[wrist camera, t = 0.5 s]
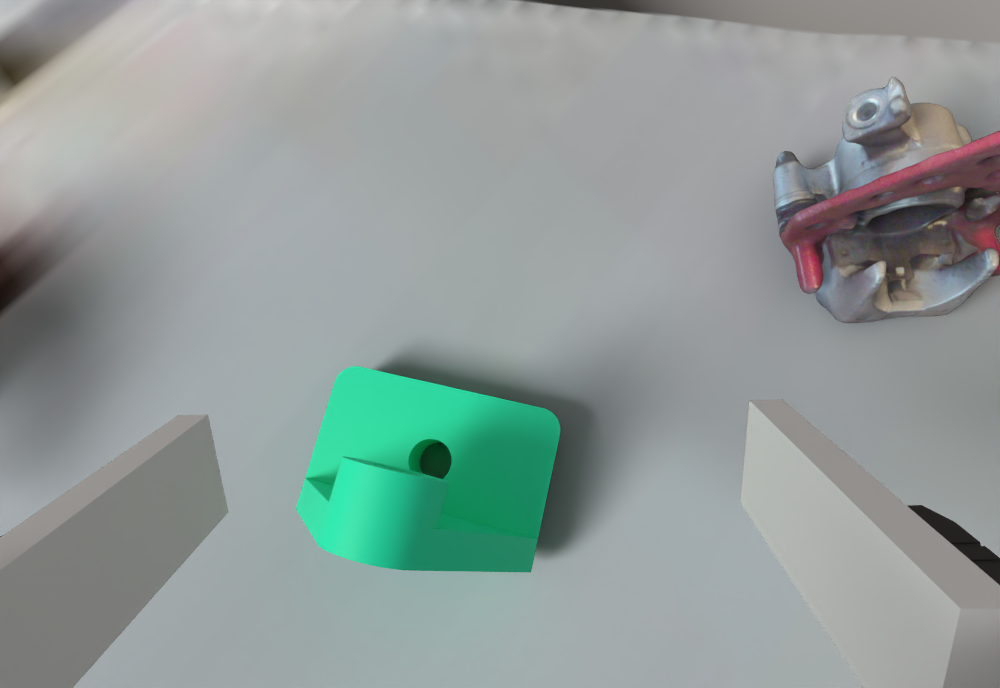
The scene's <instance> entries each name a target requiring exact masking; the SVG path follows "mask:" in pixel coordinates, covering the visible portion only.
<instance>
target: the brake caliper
mask: <svg viewBox="0 0 1000 688" xmlns="http://www.w3.org/2000/svg"><path fill="white" fill-rule="evenodd" d="M842 130H843V138H842V139H841V141H840V142H839V144H838V147H837V149H836V152H835V155H834V157H833V158H832V159H831V160H830V161H828V162H827V163H825V164H823V165H821V166H818V167H815V168H813V169H808V168H805V167H804V166H803V165H801V163H800V162H799V161H798V160H797V158H796V157H795V155H794V154H793V153H792V152H789V151H784V152H782V153H781V154H780V155H779V156H778V158H777V162H776V167H775V170H774V173H773V185H774V195H775V208H776V214H777V219H778V225H779V234H780V237H781V240H782V242H783V244H784V245H785V247H786V248H787V249H788V250H789V252H790V253H791V254H792V256H793V258H794V260H795V263H796V269H797V276H798V281H799V284H800V287H801V289H802V291H803V292H805V293H808V294H810V293H814V292H815V293H816V299H817V301H818V302H819V303H820V304H821V305H822V306H824V307H825V308H826V309H827V310H828V311H829V312H830V313H831V314H832V315H833V316H834V318H835V319H836V320H838V321H841V322H843V323H859V322H872V321H877V320H882V319H887V318H894V317H908V316H910V317H914V316H939V315H946V314H948V313H950V312H952V311H953V310H954V309H956V308H957V307H959V306H960V305H961V304H962V303H963V302H964V301H965V300H966V299H967V298H969V297H970V296H971V295H972V293H973V292H974V291H975V290H976V289H977V288H978V287H979V286H980V285H981V284H983V283H984V282H985V281H986V280H987V279H988V278H989V277H990V276H996V275H1000V244H999V242H998V240H997V237H996V234H995V229H996V227H997V226H999V225H1000V193H998V194H996V192H1000V131H997V132H995V133H992V134H990V135H988V136H986V137H983V138H980V139H978V140H976V141H973V142H972V140H971V138H970V134H969V132H968V130H967V129H966V128H965V127H963V126H961V125H956V123H955V120H954V117H953V115H952V113H951V112H950V111H949V110H948V109H946V108H945V107H943V106H940V105H937V104H932V103H914V104H910V102H909V100H908V98H907V95H906V92H905V88H904V85H903V84H902V83H901V82H900V81H899V80H898V79H897V78H895V77H892V78H891V79H890V80H889V82H888V85H887V86H886V87H884V88H878V89H870V90H867V91H865V92H863V93H861V94H859V95H857V96H855V97H854V98H852V99H851V101H850V102H849V104H848V105H847V108H846V111H845V114H844V119H843V126H842Z"/></svg>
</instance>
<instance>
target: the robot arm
mask: <svg viewBox="0 0 1000 688" xmlns="http://www.w3.org/2000/svg"><path fill="white" fill-rule="evenodd" d="M741 505H742V506H743V508H744V509H745V511H746V512H747V514H748V515H749V517H750V518H751V520H752V521H753V523H754V524H755V526H756V527H757V529H758V530H759V532H760V533H761V535H762V536H763V538H764V539H765V541H766V542H767V544H768V545H769V547H770V548H771V550H772V551H773V553H774V554H775V556H776V557H777V559H778V560H779V562H780V563H781V565H782V566H783V568H784V569H785V571H786V572H787V574H788V575H789V577H790V578H791V580H792V581H793V583H794V584H795V586H796V587H797V589H798V590H799V592H800V593H801V595H802V596H803V598H804V599H805V601H806V602H807V604H808V605H809V607H810V608H811V610H812V611H813V613H814V614H815V616H816V617H817V619H818V620H819V622H820V623H821V625H822V626H823V628H824V629H825V631H826V632H827V634H828V635H829V637H830V638H831V640H832V641H833V643H834V644H835V646H836V647H837V649H838V650H839V652H840V653H841V655H842V656H843V658H844V659H845V661H846V662H847V664H848V665H849V667H850V668H851V670H852V671H853V673H854V674H855V676H856V677H857V679H858V680H859V682H860V683H861V685H862V686H863V688H1000V558H999V557H998V556H997V555H995V554H994V553H993V552H992V551H990V550H989V549H988V548H987V547H985V546H981V545H980V542H979V541H978V540H977V539H975V538H974V537H973V536H972V535H970V534H969V533H968V532H967V531H965V530H964V529H963V528H962V527H960V526H959V525H958V524H957V523H955V522H954V521H952V520H950V519H948V518H946V517H944V516H942V515H940V514H938V513H936V512H934V511H932V510H930V509H928V508H926V507H924V506H922V505H914V506H907V505H905V504H904V503H903V502H902V501H901V500H900V499H898V498H897V497H896V496H895V495H894V494H893V493H891V492H890V491H889V490H888V489H887V488H886V487H884V486H883V485H882V484H881V483H880V482H879V481H877V480H876V479H875V478H874V477H873V476H872V475H870V474H869V473H868V472H867V471H866V470H865V469H863V468H862V467H861V466H860V465H859V464H858V463H856V462H855V461H854V460H853V459H852V458H851V457H849V456H848V455H847V454H846V453H845V452H844V451H842V450H841V449H840V448H839V447H838V446H837V445H835V444H834V443H833V442H832V441H831V440H830V439H828V438H827V437H826V436H825V435H824V434H823V433H821V432H820V431H819V430H818V429H817V428H816V427H814V426H813V425H812V424H811V423H810V422H809V421H807V420H806V419H805V418H804V417H803V416H802V415H800V414H799V413H798V412H797V411H796V410H795V409H793V408H792V407H791V406H790V405H789V404H787V403H786V402H785V401H784V400H750V401H749V412H748V424H747V436H746V447H745V459H744V470H743V482H742V493H741ZM227 513H228V508H227V503H226V499H225V494H224V489H223V484H222V480H221V475H220V470H219V465H218V460H217V456H216V451H215V446H214V441H213V437H212V432H211V427H210V422H209V418H208V415H178V416H176V417H175V418H174V419H172V420H171V421H169V422H168V423H166V424H165V425H163V426H162V427H160V428H159V429H158V430H156V431H155V432H153V433H152V434H150V435H149V436H147V437H146V438H144V439H143V440H142V441H140V442H139V443H137V444H136V445H134V446H133V447H131V448H130V449H128V450H127V451H126V452H124V453H123V454H121V455H120V456H118V457H117V458H115V459H114V460H112V461H111V462H109V463H108V464H107V465H105V466H104V467H102V468H101V469H99V470H98V471H96V472H95V473H93V474H92V475H91V476H89V477H88V478H86V479H85V480H83V481H82V482H80V483H79V484H77V485H76V486H75V487H73V488H72V489H70V490H69V491H67V492H66V493H64V494H63V495H61V496H60V497H59V498H57V499H56V500H54V501H53V502H51V503H50V504H48V505H47V506H45V507H44V508H42V509H41V510H40V511H38V512H37V513H35V514H34V515H32V516H31V517H29V518H28V519H26V520H25V521H24V522H22V523H21V524H19V525H18V526H16V527H15V528H13V529H12V530H10V531H9V532H8V533H6V534H5V535H3V536H1V537H0V688H73V687H74V686H75V685H76V683H77V682H78V681H79V680H80V679H81V678H82V677H83V676H84V674H85V673H86V672H87V671H88V670H89V669H90V668H91V666H92V665H93V664H94V663H95V662H96V661H97V660H98V659H99V657H100V656H101V655H102V654H103V653H104V652H105V651H106V650H107V648H108V647H109V646H110V645H111V644H112V643H113V642H114V640H115V639H116V638H117V637H118V636H119V635H120V634H121V633H122V631H123V630H124V629H125V628H126V627H127V626H128V625H129V624H130V622H131V621H132V620H133V619H134V618H135V617H136V616H137V615H138V613H139V612H140V611H141V610H142V609H143V608H144V607H145V605H146V604H147V603H148V602H149V601H150V600H151V599H152V598H153V596H154V595H155V594H156V593H157V592H158V591H159V590H160V589H161V587H162V586H163V585H164V584H165V583H166V582H167V581H168V579H169V578H170V577H171V576H172V575H173V574H174V573H175V572H176V570H177V569H178V568H179V567H180V566H181V565H182V564H183V563H184V561H185V560H186V559H187V558H188V557H189V556H190V555H191V554H192V552H193V551H194V550H195V549H196V548H197V547H198V546H199V544H200V543H201V542H202V541H203V540H204V539H205V538H206V537H207V535H208V534H209V533H210V532H211V531H212V530H213V529H214V528H215V526H216V525H217V524H218V523H219V522H220V521H221V520H222V519H223V517H224V516H225V515H226V514H227Z"/></svg>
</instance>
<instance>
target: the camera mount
mask: <svg viewBox="0 0 1000 688" xmlns="http://www.w3.org/2000/svg"><path fill="white" fill-rule="evenodd" d="M559 438H560V424H559V421H558V419H557V417H556V416H555V415H554V414H553V413H552V412H551V411H549V410H547V409H545V408H540V407H536V406H532V405H527V404H523V403H518V402H514V401H509V400H505V399H501V398H496V397H492V396H487V395H483V394H478V393H474V392H470V391H465V390H461V389H456V388H452V387H447V386H443V385H438V384H434V383H430V382H425V381H421V380H416V379H412V378H407V377H403V376H399V375H394V374H390V373H385V372H381V371H376V370H372V369H368V368H363V367H358V366H353V367H349V368H347V369H345V370H343V371H342V372H341V373H340V374H339V375H338V376H337V378H336V380H335V383H334V386H333V389H332V393H331V396H330V399H329V402H328V406H327V409H326V412H325V415H324V419H323V422H322V425H321V429H320V432H319V435H318V438H317V442H316V445H315V448H314V451H313V455H312V458H311V461H310V464H309V468H308V471H307V474H306V478H305V481H304V484H303V487H302V491H301V494H300V497H299V500H298V504H297V507H296V510H297V511H298V513H299V515H300V516H301V518H302V519H303V521H304V523H305V524H306V526H307V528H308V529H309V531H310V533H311V534H312V536H313V537H314V539H315V541H316V542H317V544H318V545H319V546H320V547H321V548H323V549H324V550H326V551H328V552H330V553H333V554H335V555H338V556H340V557H343V558H346V559H350V560H353V561H357V562H360V563H364V564H369V565H373V566H378V567H384V568H390V569H398V570H421V571H484V572H531V569H532V565H533V560H534V555H535V551H536V546H537V541H538V537H539V532H540V527H541V523H542V518H543V513H544V508H545V504H546V499H547V494H548V490H549V485H550V480H551V476H552V471H553V466H554V461H555V457H556V452H557V447H558V443H559ZM437 442H442V443H444V444H445V445H446V446H447V448H448V449H449V451H450V454H451V460H452V462H451V467H450V470H449V472H448V474H447V475H446V476H445V477H444V478H443V479H440V478H437V477H433V476H429V475H426V474H422V472H421V469H420V458H421V455H422V453H423V451H424V450H425V449H426V448H427V447H428V446H429V445H431V444H433V443H437Z"/></svg>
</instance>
